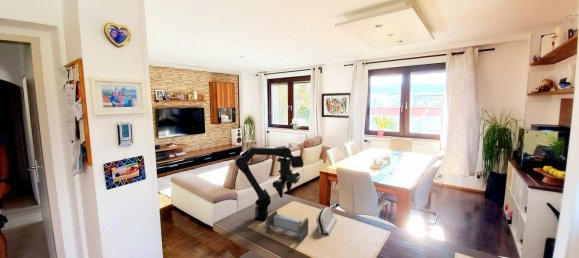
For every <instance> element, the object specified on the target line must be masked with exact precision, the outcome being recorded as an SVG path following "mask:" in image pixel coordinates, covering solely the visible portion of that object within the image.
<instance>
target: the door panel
mask: <svg viewBox="0 0 579 258" xmlns="http://www.w3.org/2000/svg"><path fill="white" fill-rule="evenodd" d="M301 223H302V220H301V219H299V218H294V217H289V216H284V215H282V214H278V213H277V214H276V215H275V216H274V227H278V228H282V229H285V230H289V231H293V232H297V233H298V226H299V225H300V224H301Z"/></svg>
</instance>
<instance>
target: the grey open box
mask: <svg viewBox="0 0 579 258" xmlns="http://www.w3.org/2000/svg"><path fill="white" fill-rule="evenodd" d="M276 214H278V210H274V211H273V212H272V213H270V214H268V217H266V220H265V228H266V229H265V230H266V231H265V232H266V234H269V235H271V236H276V237H278V238H279V237H280V238H282V239H285V240H289V241H293V242H296V243H300V244H301V243H302V242H303V241H304V239H305V238H306V237H307V236H308V234H309V218H308V217H305V218H304V219H303V221H301V224H300V225H299V226H298V233H297V232H293V231H289V230H285V229H282V228H278V227H274V216H275V215H276Z"/></svg>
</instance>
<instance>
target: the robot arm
mask: <svg viewBox="0 0 579 258" xmlns="http://www.w3.org/2000/svg"><path fill="white" fill-rule="evenodd" d="M254 156H277V157H278V158H277V159H276V161H277V162H278V163H279V164H280V165H279V170H278V173H279V174H280V175H279V177H278V180H274V181H273V182H272V188H275V190H276V192H277V193H278V196H279V198H282V199H283V196H284V189H285V188H286V190H287V193H291V189H292V186H293V184H295V185H296V184H297V183H299V181H300V179H301V174H300V172H296V173H295V172H294V173H293V170H292V169H298V168H303V167H304V164H305V162H304V160H303V156H302V155H293V154H292V151H291V149H290V148H289V147H287V146H285V145H282V146H276V147H257V146H250V147H249V148H247V150H245V151H244V152H242V153H241V154H240V155H237V156H235V158H234V163H235V166H236V168H238V169H239V170H240V172H241V173H242V174H244V175H245V177H246V179H247V180H248V182H249V183H250V185H251V187H252V188H253V190H254V191H255V194H256V196H257V200H255V202H254V204H255V208H254V211H255V213H254V217H253V220H255V221H259V222H264V221H265V222H266V217H268V216H269V210H268V208H269V206H270V205H271V202H272V200H271V198H272V197H271V195H270V194H269V192H268V190H266V189H265V188H264V189H263V188H262V187H261V186H260V184H259V183H258V181H257V179H256V178H255V176H254V174H253V173H252V171H251V169H250V167H249V164H248V163H249V162H250V160H251V159H252V158H253V157H254ZM291 167H292V169H291Z"/></svg>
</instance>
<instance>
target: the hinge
mask: <svg viewBox="0 0 579 258" xmlns="http://www.w3.org/2000/svg"><path fill="white" fill-rule="evenodd" d="M315 221H316V225H317V229H318V232H319V234H320V235H321V234H327V235H328V236H330V235H331V234H332V231H333V229H334V228H335V226H336V224H337V223H338V218H337V217H336V216H334V213H333V211H332V209H331V207H324V208H322V209H320V210H319V211H318V213H317V215H316V218H315Z"/></svg>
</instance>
